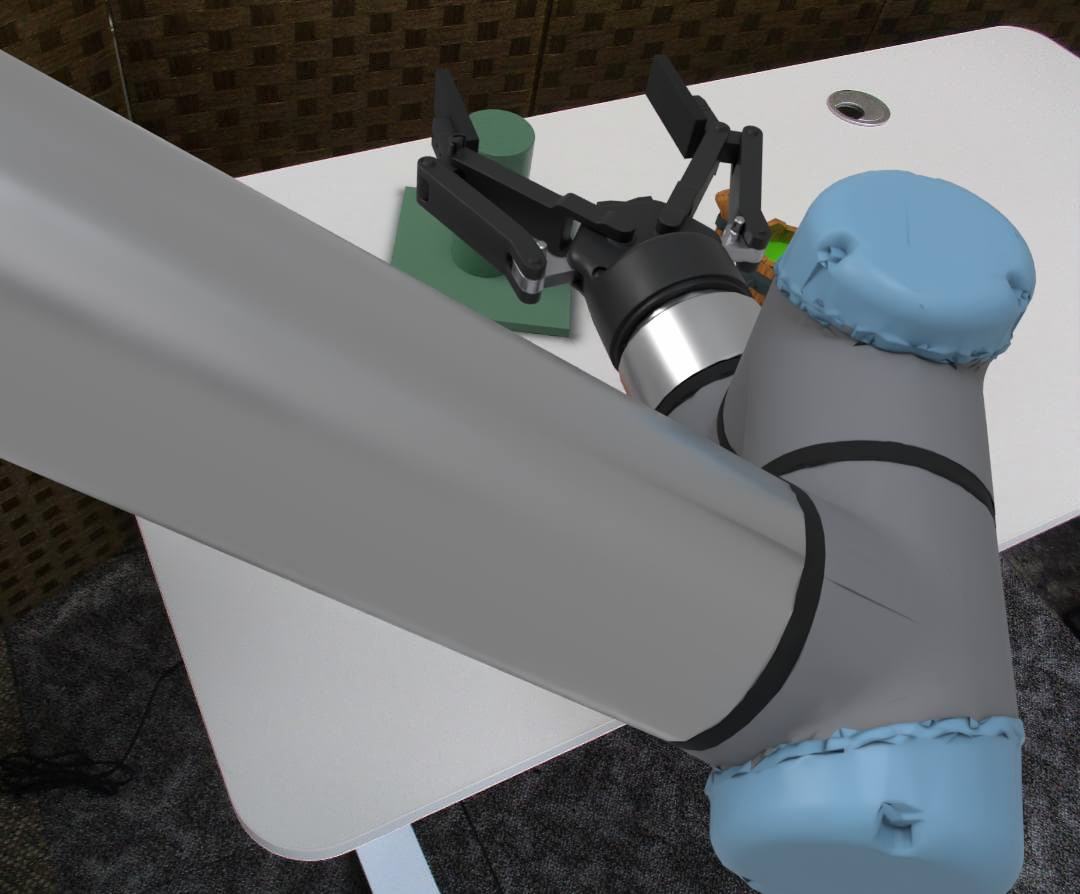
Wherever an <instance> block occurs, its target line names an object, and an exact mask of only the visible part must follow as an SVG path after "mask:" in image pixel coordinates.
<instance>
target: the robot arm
mask: <svg viewBox="0 0 1080 894" xmlns="http://www.w3.org/2000/svg"><path fill="white" fill-rule="evenodd" d="M434 82H435V83H434V100H433V102H434V103H433V112H434V114H435V116H434V117H432V118H433V119H432V123H431V138H430V139H431V140H430V141H431V143H430V144H431V147H432V150H433V153H434V155H435V156H431V155H424V156H421V157H419V158H418V159H417V162H416V201H417V203H418V204H419V205H420V206H422V207H423V208H424V209H425V210H426V211H428V212H429V213H430V214H431V215H432V216H434V217H435V218H436V219H437V220H438V221H440V222H441V223H442V224H443V225H444V226H446V227H447V228H448V229H449V230H451V231H452V232H453V233H454V234H455V235H457V236H458V237H459V238H460V239H461V240H463V241H464V242H465V243H466V244H467V245H469V246H470V247H471V248H472V249H473V250H475V251H476V252H477V253H478V254H479V255H481V256H482V257H483V258H484V259H485V260H487V261H488V262H489V263H490V264H491V265H493V266H494V267H495V268H496V269H497V270H499V271H500V272H501V273H502V274H503V275H505V276H506V278H507V280H508V281H509V283H510V285H511V287H512V288H513V290H514V292H515V294H516V295H517V297H518V299H519V300H520V301H521V302H523V303H525V304H529V305H530V304H536V303H538V302H539V301H540V299H541V294H542V290H543V289H548V288H552V287H556V286H561V285H565V284H570V285H571V288H573V289H574V290H576V291H577V292H578V293H579V294H580V295H581V296H582V297H583V298H584V300H585V303H586V305H587V309H588V312H589V316H590V318H591V321H592V324H593V325H594V327H595V330H596V332H597V334H598V336H599V338H600V341H601V343H602V345H603V347H604V350H605V351H606V353H607V356H608V358H609V360H610V362H611V365H612V367H613V368H614V369H615V370H616V372H617V373H618V374H619V381H620V383H621V385H622V387H623V389H624V392H623V391H621V390H620V389H617V388H616V387H614V386H612V385H610V384H609V383H607V382H605V381H603V380H601V379H600V378H598V377H596V376H594V375H592V374H591V373H589V372H587V371H585V370H583V369H581V368H579V367H578V366H576V365H574V364H572V363H570V362H569V361H567V360H565V359H563V358H561V357H560V356H558V355H556V354H554V353H553V352H550V351H549V350H547V349H545V348H543V347H541V346H539V345H537V344H536V343H535V342H532V341H531V340H528V339H527V338H525V337H523V336H522V335H519V334H518V333H516V332H515V331H513V330H509V329H507V328H505V327H503V326H501V325H500V324H498V323H496V322H494V321H492V320H491V319H489V318H487V317H485V316H483V315H481V314H480V313H478V312H476V311H474V310H472V309H471V308H469V307H467V306H465V305H463V304H461V303H460V302H458V301H456V300H454V299H452V298H451V297H449V296H447V295H445V294H443V293H442V292H440V291H438V290H436V289H434V288H432V287H431V286H429V285H427V284H425V283H423V282H422V281H420V280H418V279H416V278H414V277H412V276H411V275H409V274H407V273H405V272H403V271H402V270H400V269H398V268H396V267H394V266H392V265H391V263H389V262H387V261H385V260H383V259H382V258H380V257H378V256H377V255H374V254H372V253H371V252H369V251H367V250H365V249H363V248H361V247H359V246H358V245H356V244H354V243H353V242H351V241H349V240H347V239H345V238H343V237H341V236H340V235H338V234H336V233H334V232H333V231H331V230H329V229H328V228H325V227H324V226H321V225H320V224H318V223H316V222H314V221H313V220H312V219H311V220H310V219H309V218H307V217H305V216H303V215H302V214H300V213H298V212H296V211H294V209H293V210H292V209H291V208H289V207H287V206H286V205H284V204H282V203H280V202H278V201H277V200H274V199H273V198H271V197H269V196H267V195H265V194H263V193H262V192H260V191H258V190H256V189H254V188H253V187H252V186H249V185H247V184H246V183H243V182H242V181H240V180H238V179H236V178H235V177H233V176H230V175H229V174H228V173H225V172H224V171H222V170H220V169H218V168H216V167H214V166H213V165H212V164H209V163H208V162H206V161H203V160H202V159H200V158H198V157H196V156H195V155H193V154H191V153H189V152H187V151H186V150H183V149H182V148H180V147H178V146H177V145H175V144H173V143H171V142H169V141H167V140H165V139H163V138H162V137H160V136H158V135H156V134H154V133H153V132H151V131H149V130H147V129H146V128H144V127H142V126H141V125H138V124H137V123H135V122H133V121H131V120H129V119H127V118H125V117H123V115H121V114H119V113H117V112H114V110H111V109H109V108H108V107H105V106H104V105H102V104H100V103H99V102H96V101H95V100H93V99H91V98H89V97H87V96H86V95H84V94H82V93H80V92H78V91H76V90H75V89H73V88H71V87H69V86H67V85H66V84H64V83H62V82H60V81H58V80H57V79H55V78H54V77H51V76H49V75H47V74H46V73H44V72H42V71H40V70H39V69H36V68H35V67H33V66H31V65H29V64H28V63H26V62H24V61H22V60H20V59H19V58H17V57H15V56H14V55H11V54H9V53H7V52H6V51H4V50H2V49H0V459H2V460H4V461H7V462H9V463H11V464H14V465H16V466H18V467H21V468H23V469H26V470H28V471H30V472H33V473H35V474H38V475H39V476H42V477H44V478H47V479H49V480H51V481H53V482H56V483H59V484H61V485H63V486H65V487H68V488H70V489H72V490H75V491H77V492H79V493H82V494H84V495H87V496H89V497H91V498H94V499H96V500H98V501H101V502H103V503H106V504H108V505H110V506H113V507H115V508H117V509H120V510H122V511H124V512H126V513H129V514H130V515H131V514H132V515H134V516H136V517H138V518H140V519H142V520H145V521H148V522H150V523H152V524H155V525H157V526H160V527H162V528H164V529H166V530H168V531H172V532H174V533H176V534H178V535H181V536H182V537H185V538H188V539H190V540H191V541H195V542H197V543H200V544H202V545H204V546H207V547H209V548H212V549H213V550H215V551H219V552H220V553H223V554H225V555H227V556H230V557H232V558H235V559H237V560H240V561H241V562H245V563H246V564H249V565H251V566H254V567H256V568H258V569H260V570H263V571H266V572H268V573H270V574H273V575H275V576H277V577H279V578H282V579H284V580H286V581H289V582H291V583H294V584H296V585H298V586H301V587H302V588H305V589H307V590H310V591H312V592H315V593H317V594H319V595H322V596H323V597H327V598H329V599H331V600H334V601H336V602H338V603H341V604H342V605H345V606H348V607H350V608H353V609H354V610H357V611H359V612H361V613H364V614H367V615H368V616H371V617H374V618H376V619H378V620H380V621H383V622H385V623H387V624H390V625H392V626H395V627H397V628H399V629H402V630H404V631H406V632H408V633H412V634H414V635H415V636H418V637H421V638H422V639H425V640H427V641H431V643H435V644H437V645H440V646H441V647H444V648H446V649H449V650H451V651H453V652H456V653H457V654H461V655H463V656H465V657H467V658H470V659H473V660H474V661H477V662H479V663H481V664H484V665H486V666H489V667H491V668H493V669H496V670H498V671H500V672H503V673H505V674H508V675H509V676H512V677H514V678H516V679H519V680H520V681H521V680H522V681H524V682H526V683H529V684H532V685H534V686H536V687H537V688H541V689H542V690H545V691H548V692H550V693H552V694H555V695H557V696H559V697H561V698H563V699H567V700H568V701H571V702H574V703H575V704H578V705H581V706H582V707H585V708H587V709H590V710H593V712H597V713H599V714H602V715H603V716H607V717H608V718H611V719H613V720H615V721H618V722H620V723H622V724H625V725H627V726H630V727H632V728H635V729H637V730H639V731H641V732H644V733H645V734H648V735H650V736H652V737H654V738H655V739H657V740H659V741H661V742H664V743H666V744H668V745H671V746H673V747H675V748H678V749H680V750H682V751H683V752H684V753H687V754H688V755H691V756H692V757H695V758H696V759H698V760H701V761H702V762H704V763H706V764H708V765H709V766H710V767H711V768H712V769H711V771H710V773H709V775H708V778H707V781H706V783H705V786H704V790H703V792H704V794H705V795H706V796H707V797H708V799H709V802H710V803H709V806H710V807H709V839H710V843H711V846H712V849H713V851H714V853H715V855H716V856H717V858H718V860H719V861H720V862H721V865H722V866H723V867H725V868H726V869H728V870H729V871H731V873H734V874H735V875H736V876H738V877H739V878H740V879H741V880H742V881H743V882H745V883H746V884H747V885H748V886H749V887H750V888H751V889H752V890H754V891H756V892H759V893H761V894H1008V892H1009V891H1011V889H1012V888H1013V887H1014V885H1015V883H1017V880H1018V878H1019V876H1020V874H1021V872H1022V869H1023V865H1024V861H1025V835H1024V834H1025V833H1024V810H1023V806H1024V805H1023V779H1022V778H1023V777H1022V773H1023V772H1022V770H1023V769H1022V766H1023V765H1022V746H1023V745H1024V743H1025V741H1026V734H1025V733H1026V732H1025V729H1024V722H1023V720H1022V719H1021V718H1020V715H1019V706H1018V699H1017V698H1018V697H1017V690H1016V682H1015V675H1014V666H1013V665H1014V664H1013V658H1012V649H1011V648H1012V647H1011V640H1010V633H1009V625H1008V615H1007V608H1006V600H1005V591H1004V583H1003V575H1002V567H1001V559H1000V549H999V543H998V534H997V523H996V522H997V521H996V515H997V514H996V504H995V494H994V493H995V492H994V483H993V474H992V463H991V454H990V444H989V443H990V442H989V434H988V433H989V432H988V423H987V415H986V413H987V412H986V406H985V405H986V404H985V395H984V381H985V378H986V375H987V371H988V369H989V367H990V364H991V363H992V362H993V361H994V360H997V358H998V357H999V356H1000V355H1002V354H1005V352H1006V351H1007V350H1008V349H1009V348H1010V346H1011V345H1012V342H1011V341H1012V340H1013V338H1014V332H1015V330H1016V328H1017V326H1018V325H1019V323H1020V321H1021V320H1022V318H1023V316H1024V315H1025V313H1026V311H1027V309H1028V307H1029V304H1030V303H1031V302H1032V299H1033V298H1034V297H1033V296H1034V293H1035V289H1036V284H1037V273H1036V266H1035V262H1034V261H1035V260H1034V257H1033V255H1032V252H1031V250H1030V248H1029V245H1028V243H1027V242H1026V240H1025V238H1024V236H1023V235H1022V234H1021V233H1020V231H1019V230H1018V229H1017V228H1016V226H1015V225H1014V224H1013V223H1012V221H1010V220H1009V219H1008V218H1007V216H1006V215H1004V214H1003V213H1002V212H1001V211H1000V210H998V208H996V207H995V206H993V205H992V204H991V203H989V202H988V201H987V200H985V199H983V198H982V197H981V196H978V194H976V193H974V192H972V191H971V190H969V189H966V188H965V187H963V186H960V185H958V184H957V183H954V182H951V181H950V180H949V181H948V180H946V179H943V178H939V177H938V178H936V177H935V178H934V177H931V176H930V177H929V176H926V175H922V174H916V173H914V172H911V171H909V170H901V169H880V170H878V169H877V170H868V171H864V172H863V171H862V172H859V173H855V174H852V175H848V176H846V177H844V178H841V179H839V180H837V181H835V182H833V183H832V184H831V185H829V186H828V187H826V188H825V189H824V190H822V191H821V192H820V193H819V194H818V195H817V196H816V198H815V199H814V200H813V201H811V204H810V205H809V206H808V208H807V210H806V212H805V214H804V216H803V217H802V220H801V221H800V224H799V225H798V229H797V230H796V232H795V234H794V236H793V238H792V240H791V241H790V243H789V245H788V247H787V249H786V250H785V252H784V253H783V255H782V256H781V257H779V258H777V261H776V263H775V265H774V268H773V272H774V274H775V276H774V278H773V281H772V283H771V286H770V288H769V291H768V293H767V295H766V298H765V300H764V303H763V305H762V307H761V306H760V305H759V304H758V303H757V302H756V301H755V300H754V299H753V295H752V292H751V291H750V289H749V287H748V285H747V284H746V282H745V280H744V279H743V277H742V275H741V274H740V272H739V270H738V269H737V267H738V268H739V269H740V270H741V271H743V272H745V273H755V272H756V271H757V269H758V267H759V265H760V262H761V260H762V258H763V255H764V253H765V250H766V248H767V245H768V243H769V240H770V238H771V235H772V232H771V230H770V227H769V225H768V223H767V222H768V221H767V219H766V216H765V215H764V213H763V210H762V191H763V190H762V187H763V154H764V153H763V152H764V151H763V150H764V148H763V146H764V132H763V130H762V129H761V128H759V126H757V125H756V126H755V125H745V126H744V127H743V128H742V131H739V130H732V129H731V127H730V125H728V123H725V122H724V121H720V120H719V119H718V117H717V115H716V114H715V113H714V111H713V110H712V108H711V107H710V106H709V104H708V102H707V100H706V99H705V98H703V96H700V94H692V92H691V91H690V90H689V88H688V87H687V85H686V83H685V81H684V80H683V79H682V77H681V75H680V74H679V72H678V71H677V70H676V68H675V66H674V65H673V63H672V62H671V60H670V58H669V57H668V56H667V54H666V53H663V54H653V59H652V63H651V67H650V71H649V76H648V80H647V84H646V88H645V92H644V94H645V97H646V98H647V100H648V102H649V103H650V105H651V106H652V108H653V110H654V111H655V113H656V114H657V116H658V118H659V119H660V121H661V123H662V125H663V126H664V128H665V129H666V131H667V133H668V134H669V136H670V138H671V140H672V141H673V143H674V144H675V147H676V148H677V150H678V151H679V153H680V154H681V156H682V158H683V160H688V159H689V160H690V159H691V160H690V161H689V163H688V165H687V167H686V169H685V171H684V173H683V175H682V176H681V178H680V180H678V181H677V182H676V184H675V186H674V188H673V190H672V191H671V193H670V195H669V197H668V199H667V201H666V202H665V201H662V200H657V199H654V198H653V197H652V195H645V196H637V197H635V198H632V199H629V200H625V201H624V200H601V201H600V200H599V201H596V203H594V202H591V201H590V200H587V199H586V198H584V197H583V196H580V195H578V194H576V193H573V192H567V193H566V194H563V195H561V194H559V193H557V192H555V191H554V190H551V189H550V188H547V187H546V186H543V185H542V184H540V183H538V182H536V181H534V180H532V179H530V178H529V179H528V178H526V177H524V176H522V175H520V174H518V173H516V172H514V171H512V170H510V169H508V168H506V167H504V166H502V165H500V164H498V163H496V162H494V161H492V160H490V159H488V158H486V157H484V156H483V155H481V154H479V153H478V150H479V137H478V135H477V133H476V131H475V128H474V126H473V124H472V121H471V119H470V117H469V115H470V114H469V112H468V110H467V107H466V105H465V103H464V100H463V98H462V95H461V94H460V91H459V89H458V86H457V84H456V83H455V80H454V77H453V76H452V73H451V71H450V68H443V69H442V68H441V69H435V81H434ZM720 163H722V164H730V172H729V174H730V175H729V188H728V189H729V206H728V224H727V225H726V227H725V230H724V233H723V236H721V237H720V236H719V235H718V234H717V233H716V232H715V229H713V228H711V227H710V226H709V225H708V226H707V225H706V224H704V223H702V222H701V221H699V220H697V219H696V218H694V216H695V214H696V212H697V210H698V208H699V206H700V204H701V202H702V200H703V198H704V197H705V194H706V192H707V191H708V188H709V187H710V185H711V182H712V180H713V178H714V177H716V176H717V172H718V170H719V166H720ZM574 221H575V222H577V223H579V227H578V228H577V231H576V233H575V236H573V239H572V238H571V232H572V227H573V228H574ZM533 238H535V239H537V240H539V241H538V242H536V241H535V240H534V239H533ZM736 265H737V267H736Z"/></svg>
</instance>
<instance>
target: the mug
mask: <svg viewBox="0 0 1080 894" xmlns="http://www.w3.org/2000/svg"><path fill="white" fill-rule="evenodd" d="M729 189H730V188H727V189H722V190H720V191H718V192H716V193H715V196H714V201H715V203H716V205H717V207H718V209H719V213H718V214H717V216H716V219H715V221H714V225H715V229H714V231H715V232H716V233H717V234H718V235H719V236H720V237H721V236H723V233H724V230H725V227H726V225H727V224H728V206H729ZM767 223H768V225H769V227H770V230H771V232H772V235H771V238H770V240H769V243H768V245H767V248H766V250H765V253H764V255H763V258H762V260H761V262H760V265H759V267H758V269H757V271H756V272H755V273H745V272H743V271H741V270H740V269H739V268H738V267H737V265H736V264H735V265H736V267H737V269H738V270H739V272H740V274H741V275H742V277H743V279H744V280H745V282H746V284H747V285H748V287H749V289H750V291H751V292H752V295H753V299H754V300H755V301H756V302H757V303H758V304H759V305H760V306H761V307H762V305H763V303H764V300H765V298H766V295H767V293H768V291H769V288H770V286H771V283H772V281H773V278H774V276H775V274H774V272H773V268H774V265H775V263H776V261H777V258H779V257H781V256H782V255H783V253H784V252H785V250H786V249H787V247H788V245H789V243H790V241H791V240H792V238H793V236H794V234H795V232H796V230H797V229H798V227H799V226H798V227H797V226H794V225H791V224H790V225H789V224H787V222H785V221H783V220H781V219H779V218H777V217H774V218H773V219H770V220H768V221H767Z"/></svg>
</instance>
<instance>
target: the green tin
mask: <svg viewBox="0 0 1080 894" xmlns="http://www.w3.org/2000/svg"><path fill="white" fill-rule="evenodd" d="M469 117H470V119H471V121H472V124H473V126H474V128H475V131H476V133H477V135H478V137H479V150H478V153H479V154H481V155H483V156H484V157H486V158H488V159H490V160H492V161H494V162H496V163H498V164H500V165H502V166H504V167H506V168H508V169H510V170H512V171H514V172H516V173H518V174H520V175H522V176H524V177H526V178H528V179H530V178H531V169H532V162H533V156H534V149H535V143H536V132H535V129H534V127H533V125H532V124H531V123H529V121H528V120H526V119H525V118H524V117H522V116H520V115H518V114H516V113H514V112H511V111H508V110H502V109H496V108H493V109H492V108H491V109H490V108H489V109H481V110H478V111H474V112H472V113H470V114H469ZM451 255H452V258H453V260H454V262H455V263H456V265H457V266H458V267H459V268H460V269H462V270H463V271H465V272H467V273H469V274H471V275H474V276H478V277H497V276H501V275H503V274H502V273H501V272H500V271H499V270H497V269H496V268H495V267H494V266H493V265H491V264H490V263H489V262H488V261H487V260H485V259H484V258H483V257H482V256H481V255H479V254H478V253H477V252H476V251H475V250H473V249H472V248H471V247H470V246H469V245H467V244H466V243H465V242H464V241H463V240H461V239H460V238H459V237H458V236H457V235H455V234H454V233H453V232H452V245H451Z"/></svg>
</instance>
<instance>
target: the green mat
mask: <svg viewBox="0 0 1080 894" xmlns="http://www.w3.org/2000/svg"><path fill="white" fill-rule="evenodd" d="M402 197H403V198H402V203H401V208H400V213H399V218H398V224H397V229H396V235H395V240H394V244H393V250H392V255H391V261H390V264H391V265H392V266H394V267H396V268H398V269H400V270H402V271H403V272H405V273H407V274H409V275H411V276H412V277H414V278H416V279H418V280H420V281H422V282H423V283H425V284H427V285H429V286H431V287H432V288H434V289H436V290H438V291H440V292H442V293H443V294H445V295H447V296H449V297H451V298H452V299H454V300H456V301H458V302H460V303H461V304H463V305H465V306H467V307H469V308H471V309H472V310H474V311H476V312H478V313H480V314H481V315H483V316H485V317H487V318H489V319H491V320H492V321H494V322H496V323H498V324H500V325H501V326H503V327H505V328H507V329H509V330H511V331H513V332H525V333H533V334H541V335H549V336H559V337H567V338H568V337H570V333H571V314H572V313H571V311H572V310H571V309H572V286H571V285H570V284H565V285H561V286H556V287H552V288H548V289H543V290H542V294H541V299H540V301H539V302H538V303H536V304H530V305H529V304H525V303H523V302H521V301H520V300H519V299H518V297H517V295H516V294H515V292H514V290H513V288H512V287H511V285H510V283H509V281H508V280H507V278H506V276H505V275H501V276H497V277H478V276H474V275H471V274H469V273H467V272H465V271H463V270H462V269H460V268H459V267H458V266H457V265H456V263H455V262H454V260H453V258H452V255H451V245H452V231H451V230H449V229H448V228H447V227H446V226H444V225H443V224H442V223H441V222H440V221H438V220H437V219H436V218H435V217H434V216H432V215H431V214H430V213H429V212H428V211H426V210H425V209H424V208H423V207H422V206H420V205H419V204H418V203H417V201H416V187H415V186H406V185H405V187H404V191H403V196H402ZM571 238H572V239H574V226H573V227H572V232H571ZM533 239H534V240H535V241H536V242H538V241H539V240H537V239H535V238H533Z"/></svg>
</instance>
